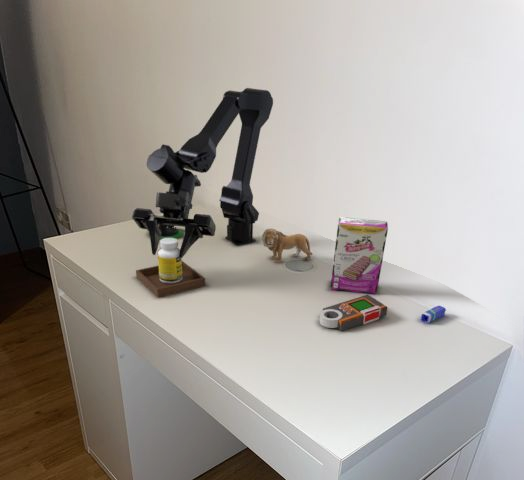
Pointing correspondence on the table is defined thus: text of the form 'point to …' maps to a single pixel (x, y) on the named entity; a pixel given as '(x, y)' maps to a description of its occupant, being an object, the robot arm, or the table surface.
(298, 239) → the lion figurine
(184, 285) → the tray
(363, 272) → the candy bar box
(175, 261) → the supplement bottle
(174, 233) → the toy figurine
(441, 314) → the eraser
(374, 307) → the electronic device
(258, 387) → the table surface
